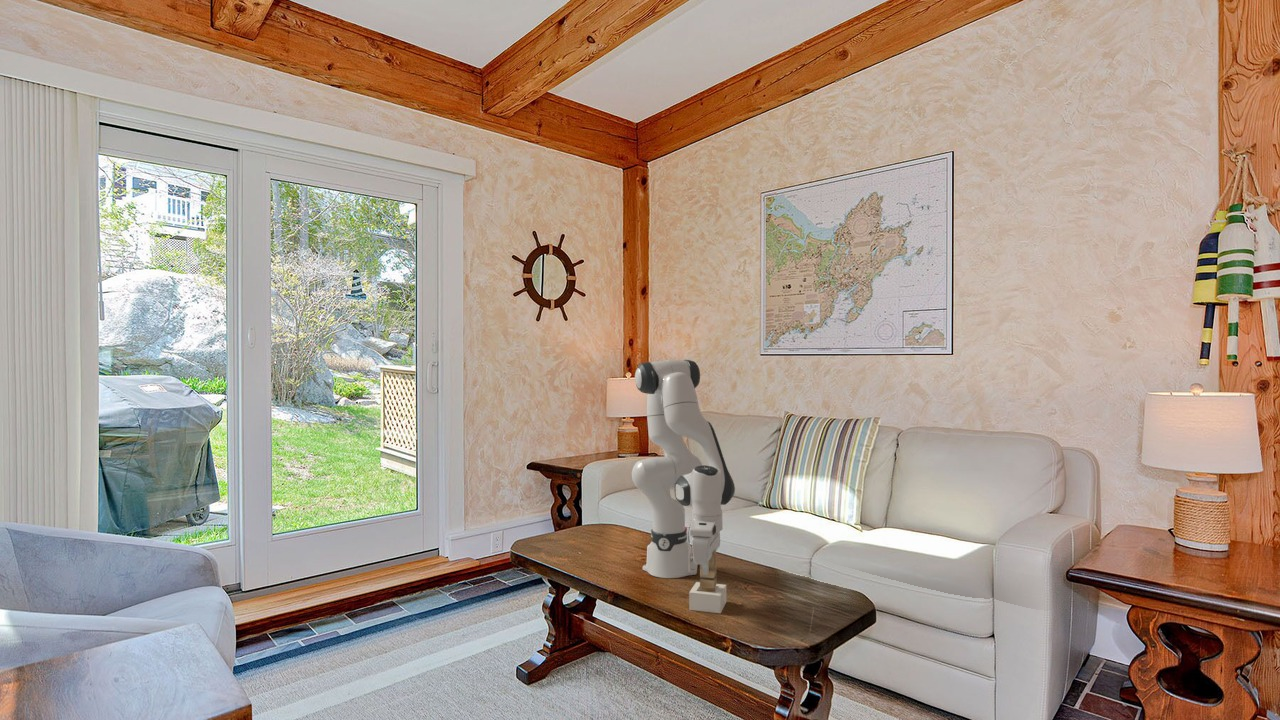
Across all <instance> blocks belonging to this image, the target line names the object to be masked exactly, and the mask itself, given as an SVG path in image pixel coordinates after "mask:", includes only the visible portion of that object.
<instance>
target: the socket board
mask: <svg viewBox="0 0 1280 720" xmlns="http://www.w3.org/2000/svg"><path fill="white" fill-rule="evenodd" d="M688 603H689V604H688V605H689V607H688V609H689V611H696V612H706V613H714V614H721V613H722V612H723V610H724V608H725V606H726V604H727V584H723V583H717V584H716V586H715V592H714V593H712V592H702V587H700V581H696V582H695V583H694V585H693V586H692V587H691V589H690V590H689V593H688Z"/></svg>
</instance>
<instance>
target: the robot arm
mask: <svg viewBox="0 0 1280 720" xmlns="http://www.w3.org/2000/svg"><path fill="white" fill-rule="evenodd" d="M700 380H701V372H700V368H699V365H698V363H697V362H695V361H694V360H691V359H664V360H657V361H651V362H650V361H645V362H642V363H640V364H638V366H637V367H636V369H635V373H634V382H635V385H636V388H637V390H638V391H640V392H641V393H643V394H646V418H647V431H648V438H649V440H650V441H651V442H652V443H653V444H654V445H656V446H659V447H661V449H662V451H663V453H664V456H657V457H656V456H655V457H647V458H643V459H641V460H638V461H636V462H635V463H634V464H633V467H632V470H631V480H632V483H633V484H634V486H635V487H636V488H637V489H638V490H639V491H641V492H642V493H643V494H644V495H645V496H646V498H647V500H648V502H649V505H650V510H651V520H652V521H651V524H652V525H651V526H652V529H651V530H650V531H651V532H650V543H649V544H648V545H647V548H646V564H643V565H642V570H643V571H645V572H647V573H648V574H649V575H651V576H653V577H656V578H661V579H676V578H677V579H678V578H684V577H687V576H693V575H697V573H698V566H700V565H701V566H702V573H703V574H704V575H708V574H709V572H710V571H709V570H710V569H709V560H710V559H711V557H712V553H713V552H714V550H715V549H716V551H718V550H719V548H720V545H721V531H723V529H724V528H723V525H724V524H723V509H722V506H723V505H725V506H726V505H727V504H729V502H730V501H731V500H732V498H733V497H734V495H735V491H736V487H735V483H734V480H733V477H732V476H731V474H730V471H729V470H728V467H727V463H726V461H725V458H724V455H723V452H722V449H721V445H720V443H719V440H718V438H717V435H716V431H715V429H714V427H713V425H712V423H711V422H709V421H708V420H707V419H706V418H705V417H704V415H703V414H702V412H701V409H700V407H699V406H700V405H699V400H698V396H697V391H696V388H697V387H698V386H699V384H700V382H701V381H700ZM683 437H685V438H688V439H690V440H693V441H694V442H696V443H698V444H699V445H700V446H701V448H702V449H703V451H704V454H705V457H706V461H707V464H708V465H703V463H702V461H701V460H700V459H699V458H698V456H696V455H694V454H693V453H692V452H691V451H690V450H689V448H688V447H687V445H686V443H685V441H684V438H683ZM673 489H674V497H675V498H673V497H672V496H671V495H672V494H671V490H673ZM685 507H691V508H692V509H691V524H690V528H689V535H690V537H691V544H690V542H689V541H688V527H687V526H686V514H685V513H686V512H685V511H686V510H685Z"/></svg>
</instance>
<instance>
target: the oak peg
mask: <svg viewBox="0 0 1280 720" xmlns="http://www.w3.org/2000/svg"><path fill="white" fill-rule="evenodd" d="M709 569H710V570H709V571H710V572H709V574H708V575H704V574H703V573H702V566H701V565H700V564H699V582H700V587H702V592H712V593H714V592H715V586H716V584H718V581H717V577H718V575H717V550H716V549H715V550H714V552H713V553H712V557H711V559H710V560H709Z"/></svg>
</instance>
